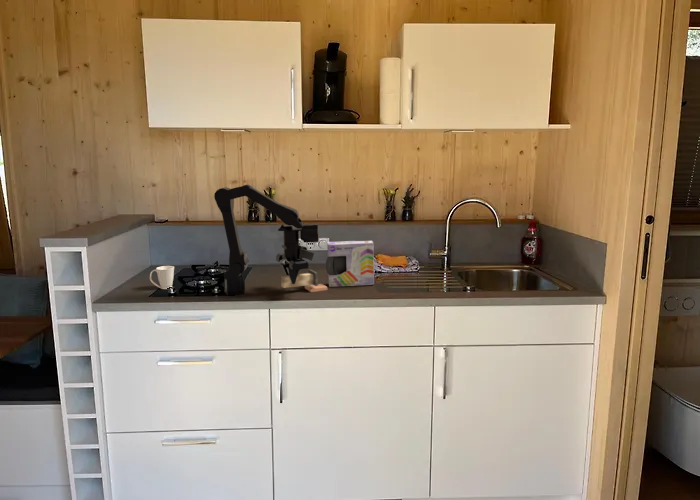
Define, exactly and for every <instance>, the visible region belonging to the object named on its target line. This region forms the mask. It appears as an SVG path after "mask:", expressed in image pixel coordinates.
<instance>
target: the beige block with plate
mask: <svg viewBox="0 0 700 500" xmlns="http://www.w3.org/2000/svg"><path fill="white" fill-rule="evenodd" d="M318 274H319V273H318V271H315V270H313V269H311V268H310V269H309V268H308V272H306V273H298V275H297V279H296V282H295V284H292V282H291V280H290V277H289V275H287V276H286V275H281V281H280V282H281V283H280V284H281V285H280V287H282V288H284V289H285V288H294V287H303V286H304V287H305V286H306V285H315V286H318V284H319V282H318V281H319V280H318V278H319V277H318Z"/></svg>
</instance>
